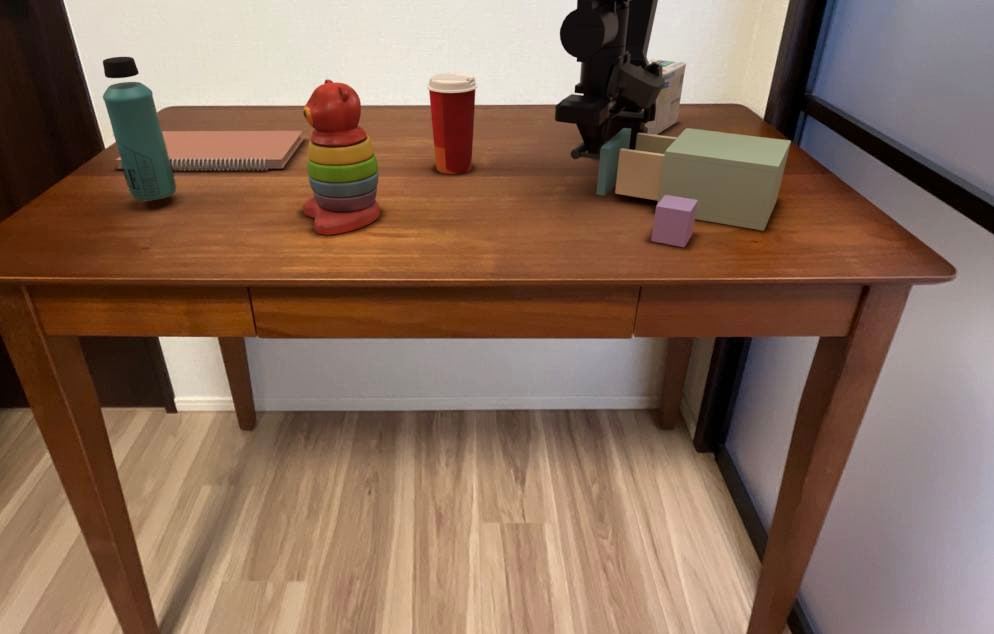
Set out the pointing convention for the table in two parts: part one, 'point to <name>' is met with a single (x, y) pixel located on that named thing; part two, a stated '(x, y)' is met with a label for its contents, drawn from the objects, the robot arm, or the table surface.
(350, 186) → the stacking bear
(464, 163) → the paper cup
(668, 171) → the green drawer cabinet
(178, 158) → the notebook
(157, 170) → the beverage bottle
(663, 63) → the light bulb box
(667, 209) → the mauve rounded cube
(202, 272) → the table surface
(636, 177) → the drawer
